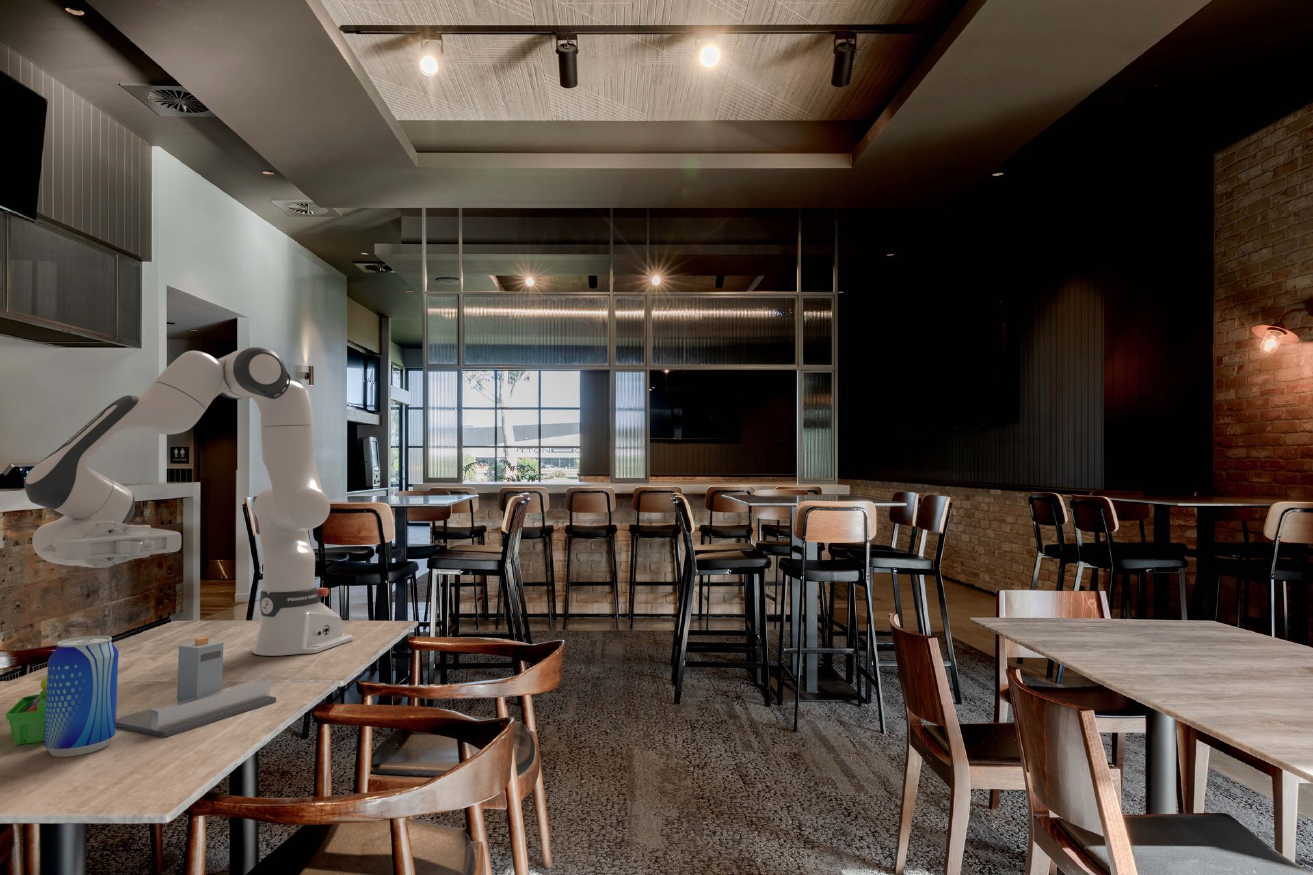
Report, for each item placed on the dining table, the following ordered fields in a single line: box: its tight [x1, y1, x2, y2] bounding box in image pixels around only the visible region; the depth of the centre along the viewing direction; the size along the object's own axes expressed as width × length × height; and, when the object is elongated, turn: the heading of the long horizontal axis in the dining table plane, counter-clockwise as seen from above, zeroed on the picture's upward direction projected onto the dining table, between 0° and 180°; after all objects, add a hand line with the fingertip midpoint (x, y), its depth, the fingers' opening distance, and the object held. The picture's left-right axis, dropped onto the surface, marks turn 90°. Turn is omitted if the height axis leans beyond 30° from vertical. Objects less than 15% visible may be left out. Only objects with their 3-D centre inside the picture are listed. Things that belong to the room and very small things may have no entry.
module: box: [176, 636, 224, 702], centre depth 127 cm, size 4×5×12 cm
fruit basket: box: [4, 675, 47, 746], centre depth 117 cm, size 11×9×11 cm
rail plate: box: [116, 678, 277, 738], centre depth 127 cm, size 20×14×4 cm
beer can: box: [43, 635, 119, 758], centre depth 111 cm, size 8×8×16 cm
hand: (146, 546), depth 134 cm, fingers closed
